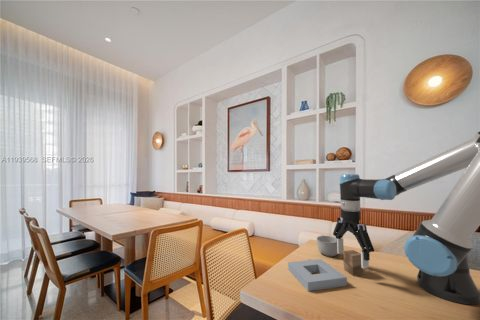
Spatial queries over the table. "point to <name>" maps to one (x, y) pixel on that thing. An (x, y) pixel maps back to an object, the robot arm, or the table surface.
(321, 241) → the teacup
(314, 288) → the housing
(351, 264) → the peg
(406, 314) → the table surface
